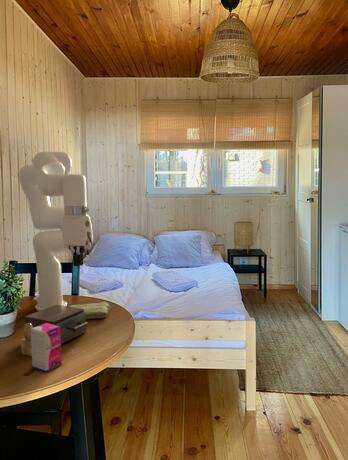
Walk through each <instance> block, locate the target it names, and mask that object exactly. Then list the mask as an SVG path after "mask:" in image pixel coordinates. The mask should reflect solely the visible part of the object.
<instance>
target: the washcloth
mask: <svg viewBox="0 0 348 460" xmlns="http://www.w3.org/2000/svg"><path fill="white" fill-rule="evenodd" d="M69 307H75V308H81V309H84V312H86V320H94V319H95V320H96V319H97V320H98V319H105V318H106V317H108V315H109V309H110V307H111V306H110V304H109V303H108V302H105V301H104V302H103V301H102V302H98V303H93V302H92V303H84V304H83V303H82V304H73V305H72V304H71V305H69Z"/></svg>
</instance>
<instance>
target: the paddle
mask: <svg viewBox="0 0 348 460" xmlns="http://www.w3.org/2000/svg"><path fill="white" fill-rule="evenodd" d="M31 329H32V324H31V323H26V324H25V323H24V325H23V333H24V338H21V339H20V350H21V355H23V356H24V355H25V356H28V357H32V342H31Z"/></svg>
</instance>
